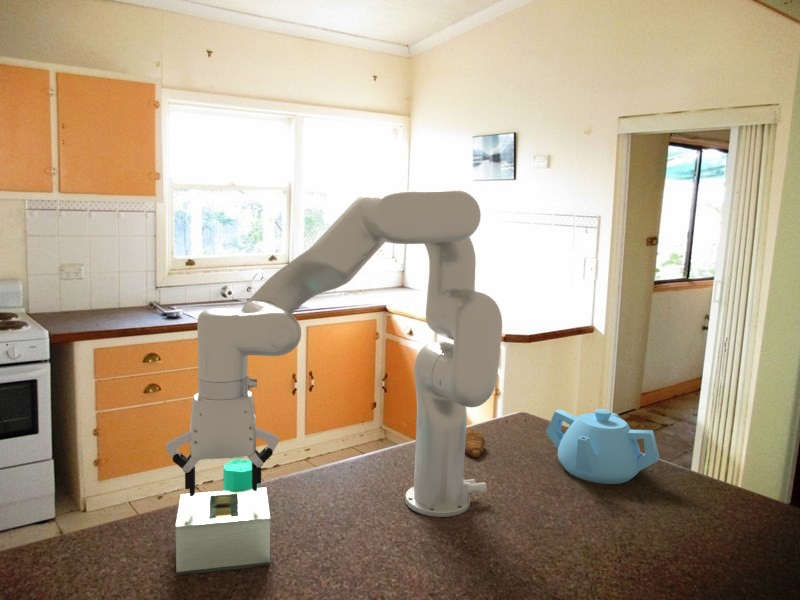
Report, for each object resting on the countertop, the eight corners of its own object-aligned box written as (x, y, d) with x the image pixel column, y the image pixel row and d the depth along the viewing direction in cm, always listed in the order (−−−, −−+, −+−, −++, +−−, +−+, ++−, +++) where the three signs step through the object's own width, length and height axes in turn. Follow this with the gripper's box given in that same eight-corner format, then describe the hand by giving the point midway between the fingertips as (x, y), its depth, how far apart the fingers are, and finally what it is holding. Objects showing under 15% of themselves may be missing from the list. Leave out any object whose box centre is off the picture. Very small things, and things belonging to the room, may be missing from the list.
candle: (249, 530, 112) (249, 465, 110) (217, 526, 113) (217, 461, 111) (263, 514, 117) (263, 452, 116) (233, 510, 119) (232, 448, 117)
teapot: (544, 453, 151) (549, 397, 149) (621, 453, 154) (627, 397, 152) (575, 490, 133) (581, 426, 130) (662, 489, 135) (670, 426, 133)
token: (230, 507, 108) (231, 521, 103) (230, 534, 109) (231, 550, 104) (215, 508, 107) (216, 523, 103) (215, 536, 108) (216, 552, 104)
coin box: (265, 530, 112) (266, 487, 111) (269, 565, 101) (270, 518, 100) (181, 538, 108) (180, 494, 107) (176, 575, 98) (175, 526, 97)
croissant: (491, 461, 147) (492, 440, 146) (461, 461, 146) (463, 440, 145) (478, 439, 160) (480, 419, 159) (452, 439, 159) (453, 419, 159)
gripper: (277, 378, 106) (276, 476, 109) (166, 382, 102) (168, 484, 105) (281, 392, 99) (280, 496, 102) (162, 397, 95) (164, 505, 97)
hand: (223, 489), depth 103 cm, fingers open, 9 cm apart
